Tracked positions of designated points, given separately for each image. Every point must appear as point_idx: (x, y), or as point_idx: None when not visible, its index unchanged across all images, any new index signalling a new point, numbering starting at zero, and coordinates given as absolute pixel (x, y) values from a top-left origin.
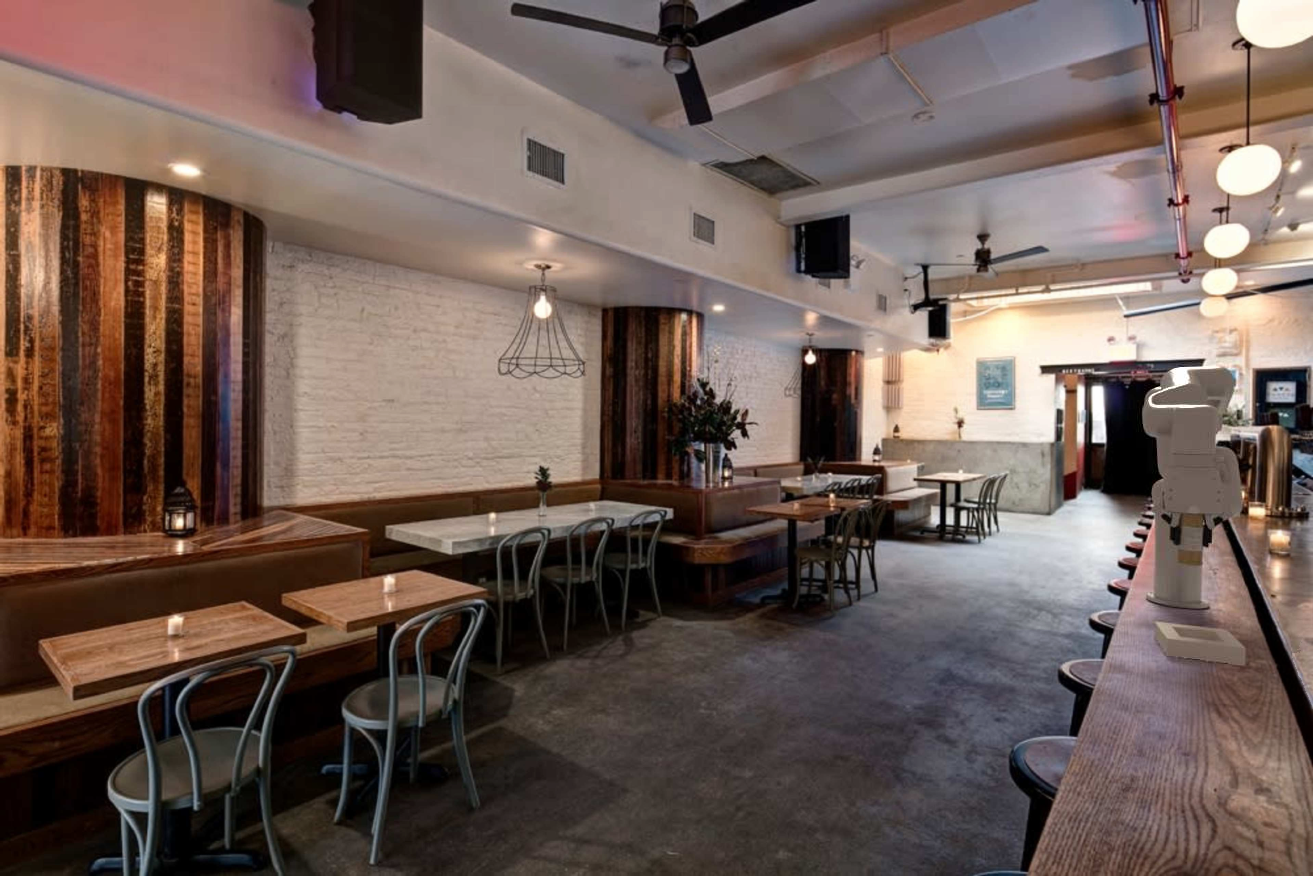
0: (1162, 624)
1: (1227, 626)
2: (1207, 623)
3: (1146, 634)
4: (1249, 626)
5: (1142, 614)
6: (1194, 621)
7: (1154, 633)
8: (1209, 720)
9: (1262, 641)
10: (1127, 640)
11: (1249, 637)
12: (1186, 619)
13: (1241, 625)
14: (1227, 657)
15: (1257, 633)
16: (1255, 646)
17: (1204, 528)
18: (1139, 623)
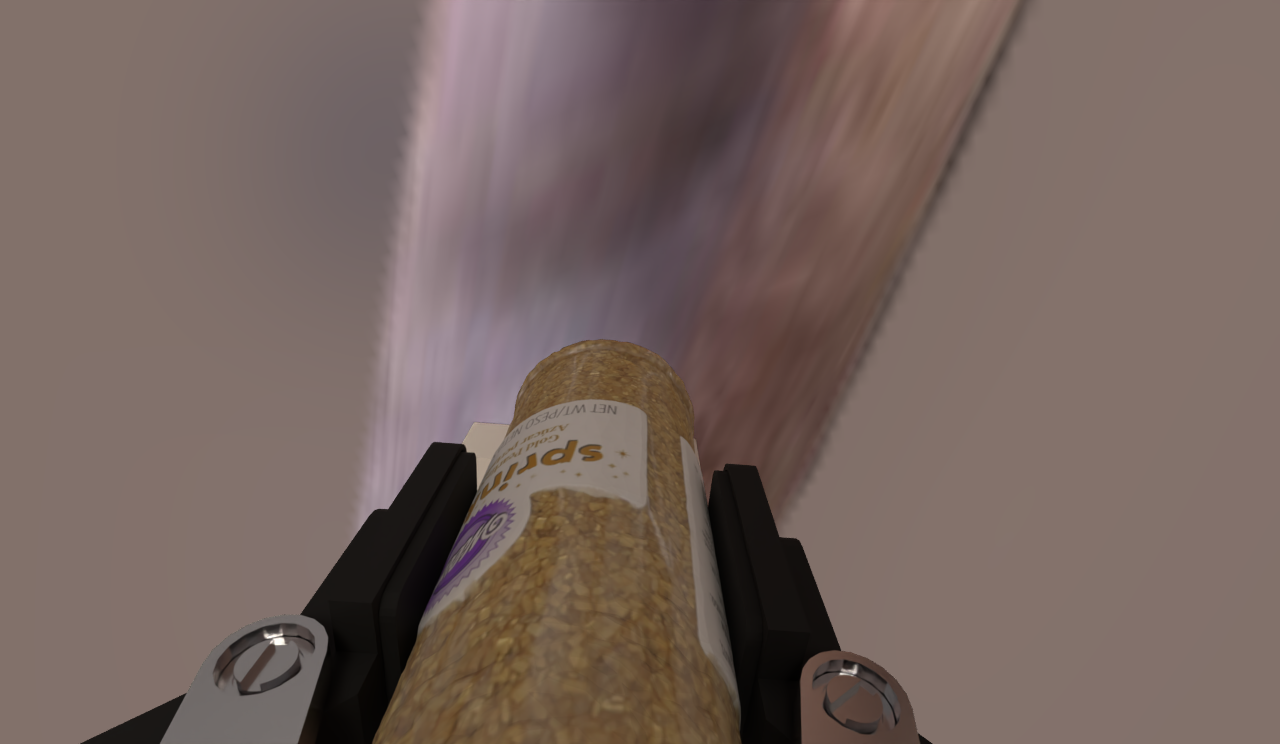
0: (477, 487)
1: (835, 112)
2: (760, 88)
3: (453, 388)
4: (947, 64)
5: (483, 21)
6: (709, 71)
7: (469, 433)
8: None
9: (867, 318)
10: (381, 486)
11: (844, 277)
12: (683, 41)
13: (916, 59)
14: None
15: (914, 194)
16: (804, 396)
17: (745, 728)
18: (447, 225)
